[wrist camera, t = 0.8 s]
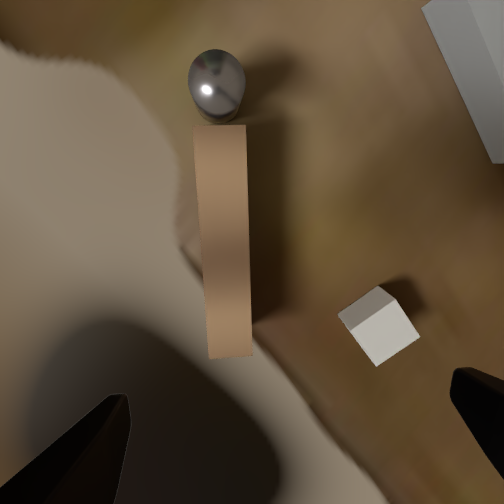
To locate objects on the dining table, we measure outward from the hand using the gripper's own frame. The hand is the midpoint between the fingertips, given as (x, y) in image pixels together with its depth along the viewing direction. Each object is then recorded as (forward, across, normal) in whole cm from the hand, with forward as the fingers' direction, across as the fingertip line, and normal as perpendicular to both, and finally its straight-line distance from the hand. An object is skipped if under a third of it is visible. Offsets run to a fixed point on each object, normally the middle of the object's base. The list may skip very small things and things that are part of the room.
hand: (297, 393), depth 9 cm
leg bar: (+10, +2, -2) cm, 10 cm away
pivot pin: (+10, +2, -9) cm, 14 cm away
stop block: (+10, -7, +3) cm, 13 cm away
